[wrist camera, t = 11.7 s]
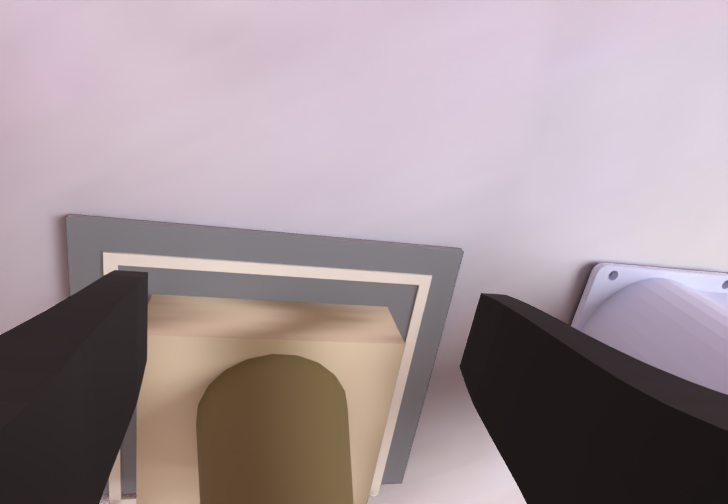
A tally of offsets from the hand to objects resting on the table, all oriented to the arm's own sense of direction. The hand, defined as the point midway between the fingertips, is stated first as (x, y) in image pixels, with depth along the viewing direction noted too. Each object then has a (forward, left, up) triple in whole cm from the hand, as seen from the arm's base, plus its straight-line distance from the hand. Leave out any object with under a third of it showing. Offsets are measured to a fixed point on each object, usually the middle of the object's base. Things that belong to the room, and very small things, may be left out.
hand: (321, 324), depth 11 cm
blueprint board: (0, +9, -10) cm, 14 cm away
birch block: (0, +10, -10) cm, 14 cm away
